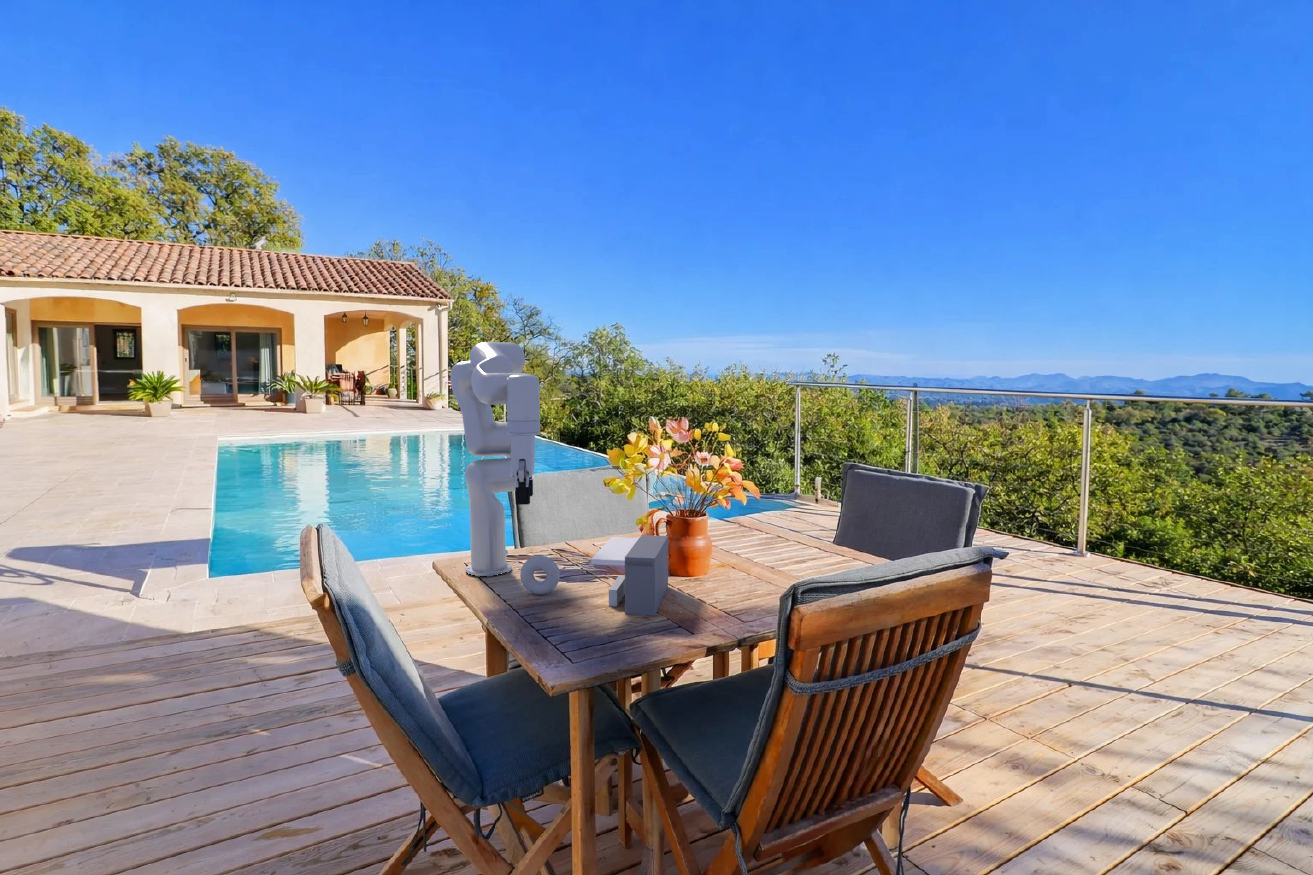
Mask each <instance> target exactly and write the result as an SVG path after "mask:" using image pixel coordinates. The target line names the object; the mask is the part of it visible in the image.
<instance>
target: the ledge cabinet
mask: <svg viewBox="0 0 1313 875" xmlns="http://www.w3.org/2000/svg"><path fill="white" fill-rule="evenodd" d="M590 565H597V566H598V565H603V566H624V575H618V576H617V577H616V579H615V580H614V582H613V583H612V584H611V585H610V587H609V588H608V607H618V606H619V604H620V602H621V600H622V599H623V598H624V614H625V615H633V616H649V617H650V616H652V617H655V616H656V614H657V612H658V609H659V608H660V607H661V603H662V601H663V599H664V597H665V595H666V592H667V590H668V588H669V536H668V535H652V534H651V535H648V534H647V535H645V534H641V535H640V537H622V536H611V537H610V538H609V539H608V540H607V541H606V542H605V544H604V545H603V546H602V547H601V548H600V549H599V550H598V551H597V552H596V554H594V555H593V556H592V557H591V559H590Z"/></svg>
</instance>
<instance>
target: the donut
mask: <svg viewBox="0 0 1313 875" xmlns="http://www.w3.org/2000/svg"><path fill="white" fill-rule="evenodd" d="M538 570H542V571H544V572H545V574H546V576H545V579H543V580H541V581H540V580H538V579H536V578H535V575H534V574H535V572H536V571H538ZM519 577H520V582H521V584H522V586H523V587H524V589H525V590H526V591H527V592H530V593H532V594H534V595H540V596H541V595H542V596H543V595H547V594H549V593H551V592H552V591H553V590H554V589H556V588H557V586H558V585H559V583H560V577H561V574H560V568H559V567H558V565H557V563H556V562H555V561H554V560H553V559H552V558H550V557H548V556H547V555H546V556H545V555H536V556H532V557H530V558H528V559H527V560H526V561H525V562H524V563H523V564H522V566H521V568H520V575H519Z"/></svg>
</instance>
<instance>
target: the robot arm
mask: <svg viewBox="0 0 1313 875" xmlns="http://www.w3.org/2000/svg"><path fill="white" fill-rule="evenodd" d="M525 362H526V357H525V352H524V350H523V349H522V347H521V345H519V344H517V343H516V342H509V341H508V342H505V341H504V342H501V341H500V342H499V341H498V342H497V341H496V342H495V341H493V342H492V341H484V342H480V343H477V344H475V345H474V346H472V348H471V349H470V351H469V360H464V361H460V362H457V363H455V364H453V366H452V367H451V369H450V370H451V371H450V384H451V389H452V392H453V396H454V398H455V401H456V403H457V404H458V406H459V408H460V412H461V416H462V424H463V430H464V437H465V443H466V448H467V451H468V453H469V454H470V455H471V456H473V457H483V459H482V458H481V459H478V460H474V461H471V462H470V463H469V464H467V466H466V468H465V472H464V474H465V483H466V487H467V489H466V490H467V493H468V502H469V528H470V529H469V531H470V532H469V533H470V564H469V565H467V566H465V573H466V572H467V573H468V574H467V573H466V574H467V575H469V574H471V575H470V576H472V575H475V576H474V577H480V576H487V577H494V576H493V575H497V574H501V573H505V572H507V573H509V572H511V570H512V569H511V568H512V564H511V563H510V562H507V557H506V556H508V554H509V552H508V550H507V549H506V548H507V546H506V512H505V507H504V504H503V503H502V502H501V501H500V499H499V498H498V497H497V496H496V494H499V493H510V492H515V504H516V506H517V505H518V506H519V505H521V506H522V505H530V504H531V497H533V495H534V481H533V480H534V479H533V475H534V472H535V471H534V470H535V461H536V436H537V435H540V434H541V419H540V418H541V417H540V416H541V413H540V411H541V410H540V409H541V408H540V407H541V406H540V404H541V401H540V397H541V396H540V389H541V388H540V380H539V378H538V376H536V375H534V374H530V373H526V372H525V373H524V372H523V371H524V368H525ZM493 405H498V406H499V405H506V422H497V421H495V420H494V419H495V418H494V412H493V408H492V406H493ZM500 456H502V457H503V456H505V457H503V458H486V459H485V457H500ZM505 574H506V573H505ZM497 576H498V575H497Z"/></svg>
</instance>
